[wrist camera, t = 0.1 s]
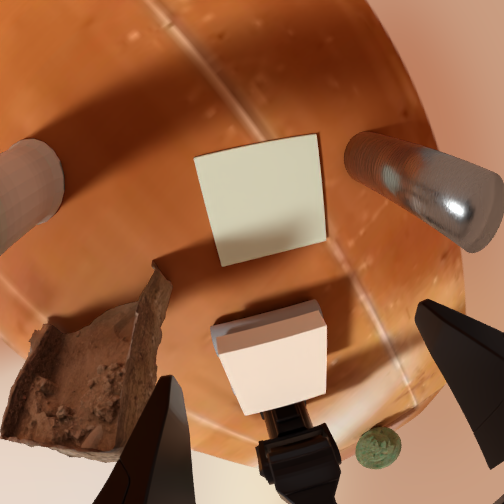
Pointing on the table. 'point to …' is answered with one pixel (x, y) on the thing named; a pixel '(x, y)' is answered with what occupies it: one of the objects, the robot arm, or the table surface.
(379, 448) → the decorative artifact
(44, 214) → the container
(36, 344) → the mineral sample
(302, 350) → the slab on rollers
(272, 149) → the mat
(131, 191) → the table surface
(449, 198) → the silver metal cylinder
